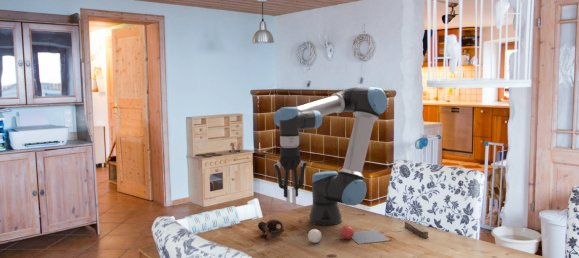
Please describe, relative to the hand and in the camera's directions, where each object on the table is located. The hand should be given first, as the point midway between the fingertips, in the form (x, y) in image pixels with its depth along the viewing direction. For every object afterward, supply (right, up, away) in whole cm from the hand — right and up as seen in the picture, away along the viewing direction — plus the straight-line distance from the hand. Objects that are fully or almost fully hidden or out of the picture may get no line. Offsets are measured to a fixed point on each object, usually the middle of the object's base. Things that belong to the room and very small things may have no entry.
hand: (291, 204), depth 190 cm
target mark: (+32, -15, +9) cm, 36 cm away
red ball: (+23, -12, +7) cm, 27 cm away
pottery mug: (-9, -16, +13) cm, 22 cm away
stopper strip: (+53, -14, +14) cm, 57 cm away
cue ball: (+10, -13, +4) cm, 17 cm away
